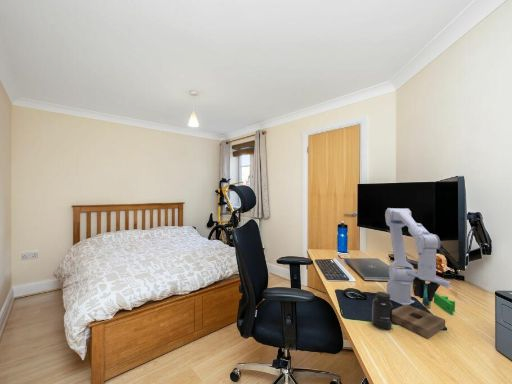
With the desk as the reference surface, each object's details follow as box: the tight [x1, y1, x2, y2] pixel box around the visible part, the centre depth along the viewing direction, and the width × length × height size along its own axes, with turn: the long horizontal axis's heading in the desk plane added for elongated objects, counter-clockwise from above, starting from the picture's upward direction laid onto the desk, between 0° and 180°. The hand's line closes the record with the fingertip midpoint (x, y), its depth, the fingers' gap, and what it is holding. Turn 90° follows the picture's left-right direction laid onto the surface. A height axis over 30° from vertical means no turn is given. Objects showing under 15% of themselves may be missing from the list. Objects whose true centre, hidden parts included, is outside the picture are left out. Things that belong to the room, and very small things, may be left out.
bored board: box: [392, 304, 446, 340], centre depth 92 cm, size 14×14×3 cm
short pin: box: [423, 301, 432, 310], centre depth 105 cm, size 2×2×4 cm
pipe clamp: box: [433, 292, 456, 316], centre depth 104 cm, size 11×4×5 cm, turn 173°
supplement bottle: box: [371, 291, 394, 331], centre depth 90 cm, size 7×7×12 cm
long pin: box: [421, 282, 430, 306], centre depth 92 cm, size 2×2×8 cm
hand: (426, 299), depth 92 cm, fingers closed on long pin, 2 cm apart
